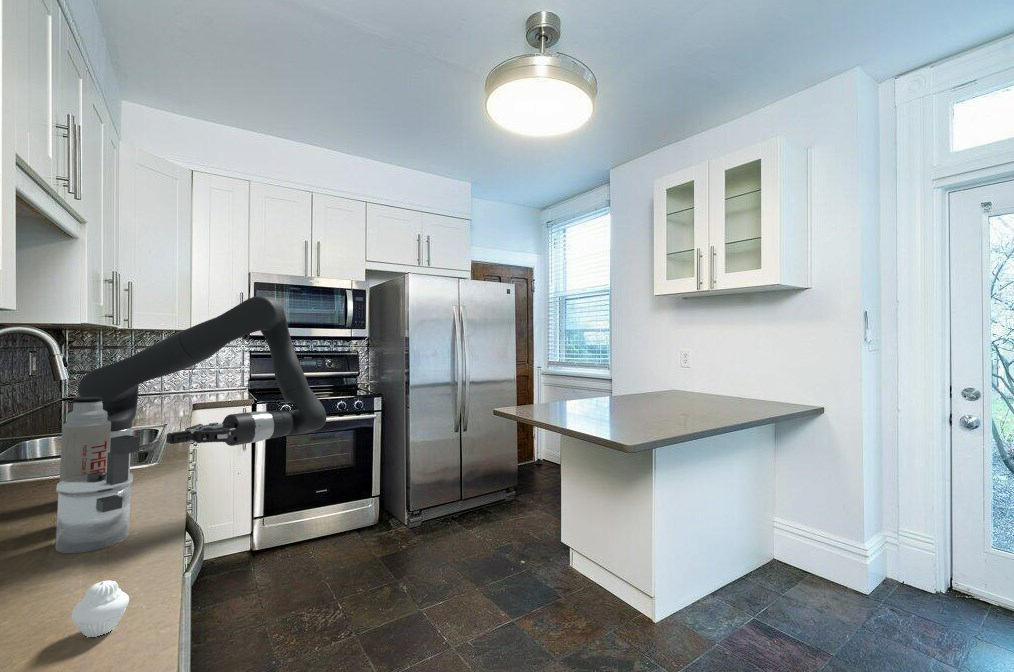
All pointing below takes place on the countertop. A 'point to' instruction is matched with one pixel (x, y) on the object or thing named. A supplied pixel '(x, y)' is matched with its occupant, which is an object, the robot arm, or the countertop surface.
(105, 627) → the muffin
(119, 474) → the cooker lid
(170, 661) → the countertop surface
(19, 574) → the countertop surface
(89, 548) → the cooker pot
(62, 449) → the thermos bottle
